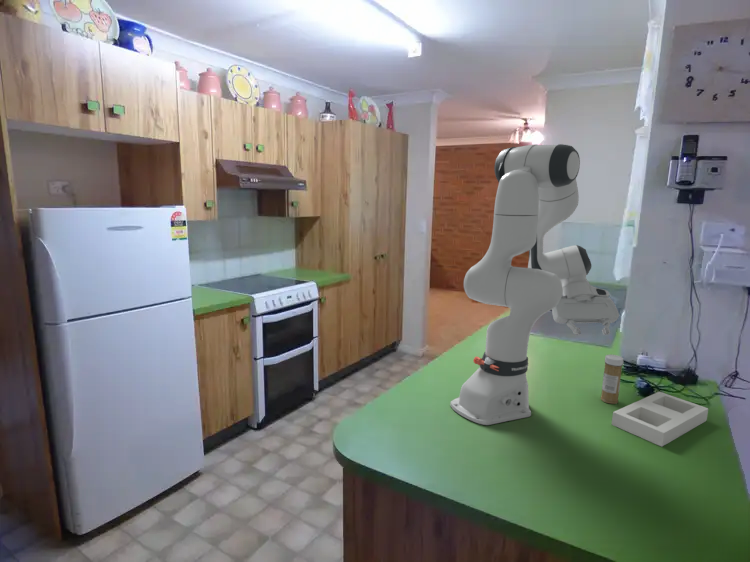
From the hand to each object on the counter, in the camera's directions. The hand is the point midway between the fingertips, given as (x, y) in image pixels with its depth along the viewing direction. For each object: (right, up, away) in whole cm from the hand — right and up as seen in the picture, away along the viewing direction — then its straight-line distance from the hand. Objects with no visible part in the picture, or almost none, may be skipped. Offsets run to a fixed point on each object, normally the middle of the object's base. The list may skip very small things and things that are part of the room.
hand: (592, 334), depth 134 cm
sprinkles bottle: (+1, -18, -8) cm, 20 cm away
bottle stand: (+7, -21, -20) cm, 30 cm away
